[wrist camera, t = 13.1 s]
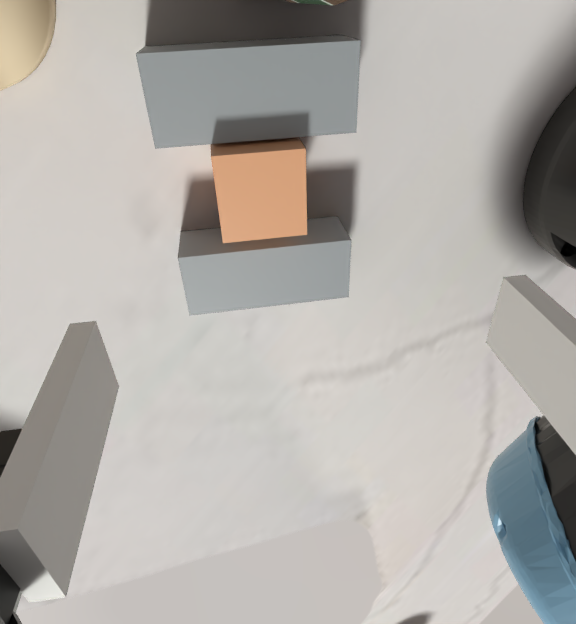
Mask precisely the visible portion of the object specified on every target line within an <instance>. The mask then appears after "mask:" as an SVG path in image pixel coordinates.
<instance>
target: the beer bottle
mask: <svg viewBox="0 0 576 624" xmlns="http://www.w3.org/2000/svg"><path fill="white" fill-rule="evenodd" d="M285 1H288V2H291V3H306V4H321V5H337V4H340V3H342V2H345V1H348V0H285Z"/></svg>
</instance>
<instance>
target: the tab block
mask: <svg viewBox="0 0 576 624" xmlns="http://www.w3.org/2000/svg"><path fill="white" fill-rule="evenodd" d="M211 160H212V167H213V175H214V182H215V189H216V196H217V204H218V211H219V218H220V226H221V233H222V240H223V243H231V242H241V241H250V240H260V239H270V238H280V237H290V236H300V235H307V192H306V148H305V147H304V145H303V143H302V142H301V140H300V139H299V137H293V138H281V139H268V140H256V141H243V142H231V143H218V144H211Z"/></svg>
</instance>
